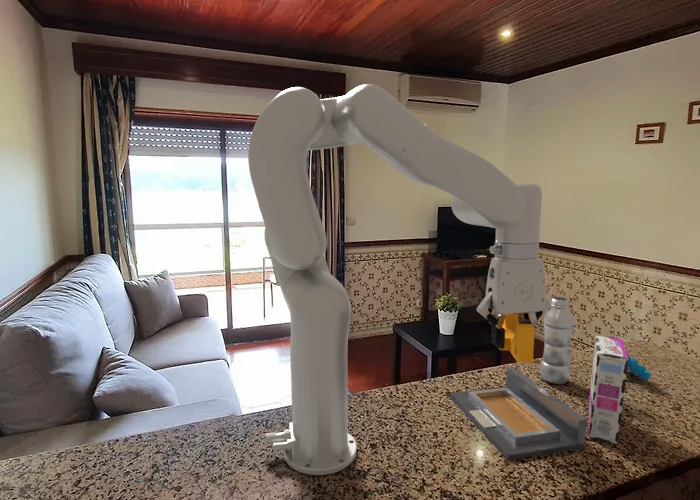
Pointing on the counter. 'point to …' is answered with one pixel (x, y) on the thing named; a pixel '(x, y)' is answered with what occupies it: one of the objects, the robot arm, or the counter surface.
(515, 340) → the orange notched block
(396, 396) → the counter surface
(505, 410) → the grey tray with recess
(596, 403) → the candy bar box
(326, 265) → the robot arm
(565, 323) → the plastic bottle
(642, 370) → the gear
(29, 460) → the counter surface
